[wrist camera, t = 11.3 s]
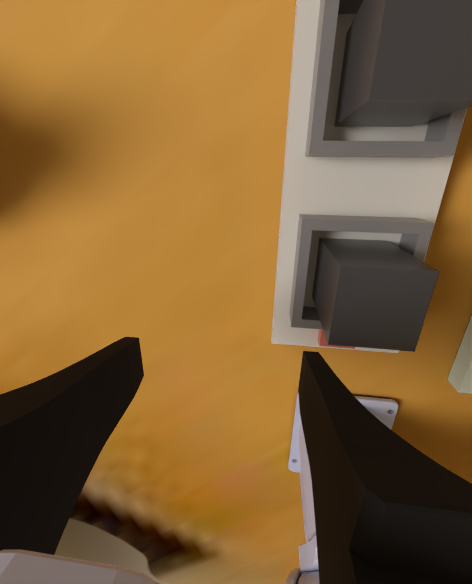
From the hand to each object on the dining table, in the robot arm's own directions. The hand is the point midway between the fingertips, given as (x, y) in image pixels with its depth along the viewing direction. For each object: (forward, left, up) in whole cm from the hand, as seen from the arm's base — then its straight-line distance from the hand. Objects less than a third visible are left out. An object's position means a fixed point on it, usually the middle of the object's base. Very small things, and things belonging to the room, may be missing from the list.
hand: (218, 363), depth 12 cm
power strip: (+7, -7, -9) cm, 14 cm away
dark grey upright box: (+12, -7, -8) cm, 16 cm away
